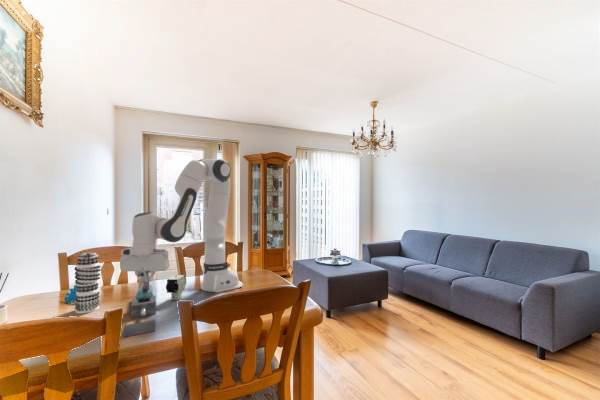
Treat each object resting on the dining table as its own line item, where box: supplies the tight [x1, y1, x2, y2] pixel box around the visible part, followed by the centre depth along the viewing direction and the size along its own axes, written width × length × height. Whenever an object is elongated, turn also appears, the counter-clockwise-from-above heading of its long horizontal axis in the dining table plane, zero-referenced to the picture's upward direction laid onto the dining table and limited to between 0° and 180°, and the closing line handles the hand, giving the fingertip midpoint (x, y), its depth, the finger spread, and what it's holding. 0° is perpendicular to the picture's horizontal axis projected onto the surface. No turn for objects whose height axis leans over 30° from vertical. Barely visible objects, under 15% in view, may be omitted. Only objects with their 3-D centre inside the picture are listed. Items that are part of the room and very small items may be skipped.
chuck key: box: [137, 268, 151, 293], centre depth 119 cm, size 7×3×11 cm, turn 174°
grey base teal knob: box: [130, 284, 157, 319], centre depth 123 cm, size 9×29×7 cm, turn 29°
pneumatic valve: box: [165, 274, 187, 301], centre depth 135 cm, size 6×12×12 cm, turn 178°
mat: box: [122, 319, 156, 338], centre depth 104 cm, size 10×10×1 cm
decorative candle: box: [73, 251, 101, 314], centre depth 121 cm, size 9×9×25 cm
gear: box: [63, 284, 77, 304], centre depth 132 cm, size 11×6×10 cm
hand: (145, 280), depth 120 cm, fingers closed on chuck key, 3 cm apart
